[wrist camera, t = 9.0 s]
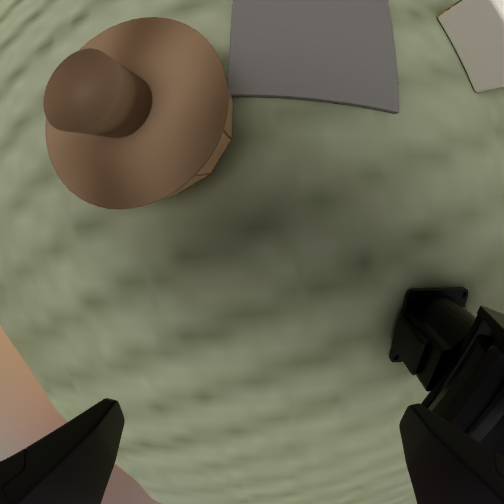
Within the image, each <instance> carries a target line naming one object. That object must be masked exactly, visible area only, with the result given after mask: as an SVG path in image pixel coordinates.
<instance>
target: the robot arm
mask: <svg viewBox="0 0 504 504" xmlns="http://www.w3.org/2000/svg"><path fill="white" fill-rule="evenodd" d="M412 294H414V295H413V297H411V295H412ZM462 294H463V295H462ZM410 297H411V298H410ZM467 297H468V290H467V289H466V288H464V287H457V288H418V289H410V290H408V291H407V293H406V295H405V300H404V304H403V308H402V312H401V316H400V317H399V320H398V323H397V327H396V331H395V334H394V338H393V341H392V348H391V351H390V355H389V358H390V360H391V361H392V362H402V361H403V362H404V363H405V365H406V367H407V368H408V370H409V371H410V373H411V374H412V375H416V376H417V377H418V379H419V380H420V382H421V383H422V385H423V386H424V388H425V389H426V391H430V393H429V394H428V395H427V397H426V398H425V399H424V401H423V402H422V403H421V404H413V405H410V406H408V407H407V409H406V411H405V413H404V415H403V417H402V419H401V421H400V433H401V438H402V443H403V448H404V454H405V459H406V464H407V468H408V471H409V475H410V478H411V482H412V485H413V489H414V493H415V496H416V500H417V504H504V314H501V313H499V312H496V311H494V310H491V309H489V308H486V307H483V306H480V308H479V310H478V312H477V314H478V315H477V317H475V316H473V315H472V314H471V313H470V312H469V311H467V310H466V309H465V308H464V307H465V304H466V300H467ZM394 356H395V357H394ZM123 427H124V416H123V413H122V410H121V408H120V405H119V403H118V401H116V400H113V399H108V398H105V399H103V400H102V401H100V402H99V403H97V404H95V405H94V406H92V407H91V408H89V409H88V410H86V411H85V412H83V413H82V414H80V415H78V416H77V417H75V418H74V419H72V420H71V421H69V422H67V423H66V424H64V425H63V426H61V427H59V428H58V429H56V430H55V431H53V432H51V433H50V434H48V435H46V436H45V437H43V438H42V439H40V440H38V441H37V442H35V443H33V444H32V445H30V446H28V447H27V448H26V449H23V450H21V451H20V452H18V453H16V454H14V455H13V456H11V457H9V458H7V459H5V460H3V461H0V504H101V501H102V498H103V495H104V492H105V489H106V486H107V484H108V481H109V478H110V475H111V472H112V469H113V467H114V464H115V460H116V456H117V452H118V448H119V443H120V439H121V435H122V431H123Z"/></svg>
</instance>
